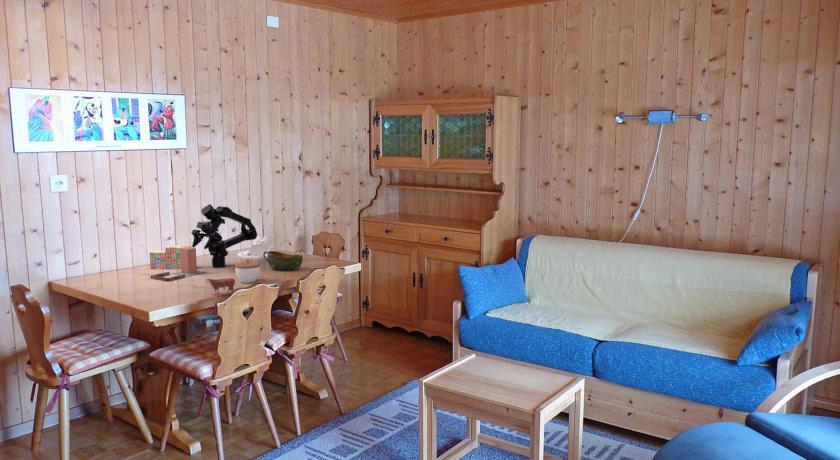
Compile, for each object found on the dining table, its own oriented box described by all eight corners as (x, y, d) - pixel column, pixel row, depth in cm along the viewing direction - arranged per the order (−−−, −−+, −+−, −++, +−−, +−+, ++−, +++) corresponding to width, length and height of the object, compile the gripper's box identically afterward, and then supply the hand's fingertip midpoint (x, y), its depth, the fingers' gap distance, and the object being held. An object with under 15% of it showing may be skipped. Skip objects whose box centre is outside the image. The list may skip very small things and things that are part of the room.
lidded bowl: (266, 281, 337) (265, 259, 335) (244, 285, 328) (243, 263, 326) (251, 277, 345) (251, 256, 344) (230, 281, 336) (229, 259, 334)
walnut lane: (168, 274, 351) (168, 271, 351) (185, 277, 345) (185, 274, 344) (150, 278, 342) (150, 275, 342) (167, 281, 335) (167, 278, 335)
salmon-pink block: (189, 270, 358) (188, 247, 357) (196, 272, 356) (195, 248, 354) (181, 272, 354) (180, 248, 352) (188, 273, 351) (187, 249, 349)
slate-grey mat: (190, 270, 363) (190, 269, 363) (205, 272, 357) (205, 271, 357) (172, 274, 353) (172, 273, 353) (187, 276, 347) (187, 275, 347)
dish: (250, 250, 424) (249, 233, 423) (286, 252, 418) (285, 234, 416) (229, 257, 401) (229, 239, 399) (267, 259, 395) (267, 240, 393)
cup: (279, 265, 376) (278, 247, 374) (305, 269, 365) (305, 251, 363) (262, 269, 365) (261, 251, 364) (288, 274, 354) (288, 255, 353)
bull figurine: (206, 292, 312) (206, 275, 311) (236, 292, 313) (235, 275, 312) (204, 295, 308) (203, 277, 307) (234, 294, 309) (233, 277, 308)
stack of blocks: (150, 269, 366) (148, 247, 364) (155, 266, 372) (154, 245, 370) (187, 269, 364) (186, 247, 362) (192, 267, 370) (191, 245, 369)
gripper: (193, 214, 366) (177, 237, 358) (217, 217, 356) (201, 240, 349) (205, 227, 374) (190, 249, 366) (228, 230, 364) (214, 252, 356)
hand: (198, 247), depth 359 cm, fingers open, 9 cm apart
